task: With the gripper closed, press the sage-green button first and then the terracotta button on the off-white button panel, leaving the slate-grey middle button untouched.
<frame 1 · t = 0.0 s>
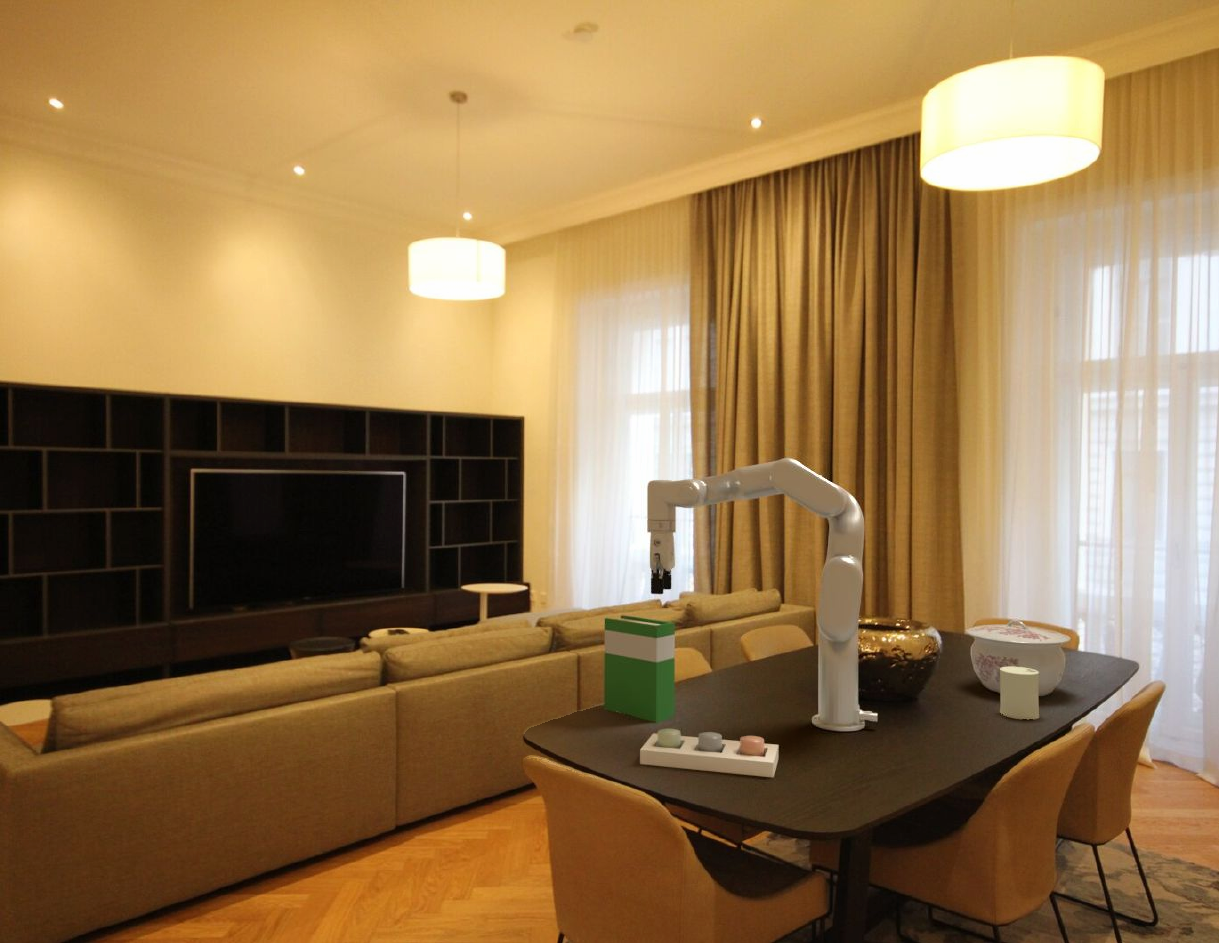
hand: (661, 591, 218), 31 cm above the table, tool pointing down, fingers open, 9 cm apart
can: (1019, 715, 214), on the table
button panel: (710, 761, 178), on the table
chamber pot: (1017, 692, 238), on the table
sage button: (669, 741, 180), point 4 cm above the table, slide at 0.0 cm
grey button: (710, 744, 178), point 4 cm above the table, slide at 0.0 cm
terracotta button: (752, 748, 175), point 3 cm above the table, slide at 0.0 cm
hardback book: (638, 713, 215), on the table
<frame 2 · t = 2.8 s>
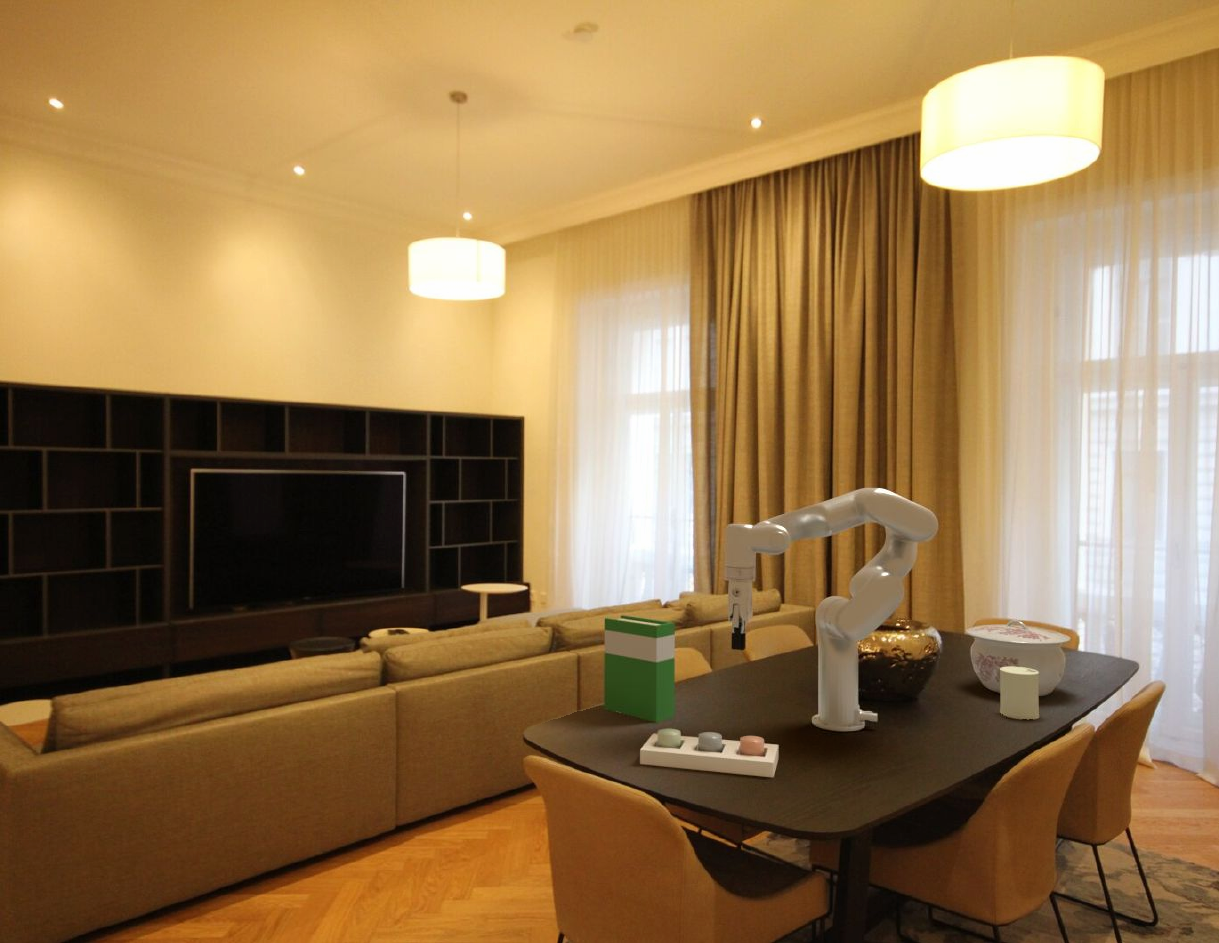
hand: (738, 649, 202), 19 cm above the table, tool pointing down, fingers closed
nothing on the table moved.
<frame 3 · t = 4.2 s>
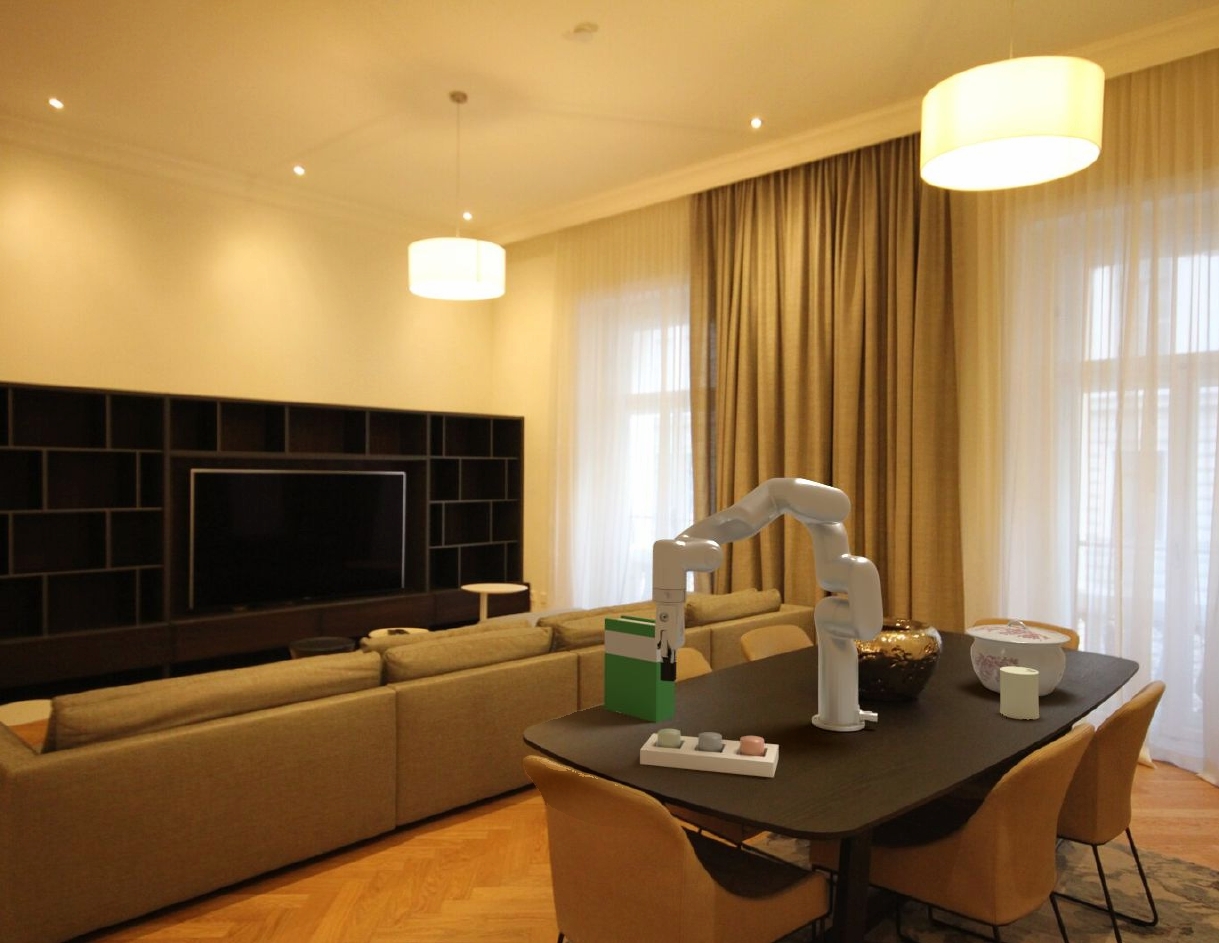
hand: (668, 680, 180), 17 cm above the table, tool pointing down, fingers closed
nothing on the table moved.
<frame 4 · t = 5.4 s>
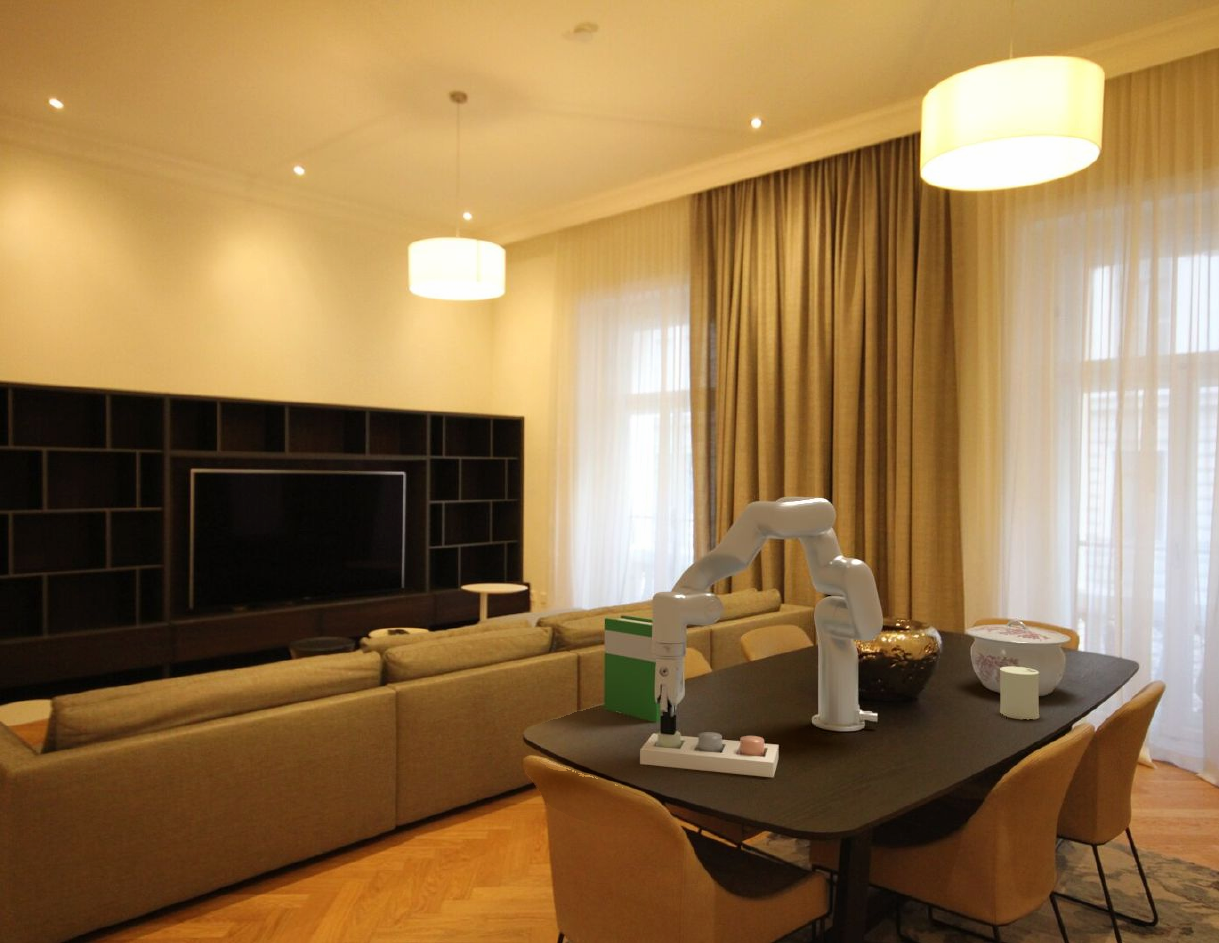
hand: (668, 733, 180), 5 cm above the table, tool pointing down, fingers closed
sage button: (669, 742, 180), point 3 cm above the table, slide at 0.3 cm, touching gripper
everything else where it was.
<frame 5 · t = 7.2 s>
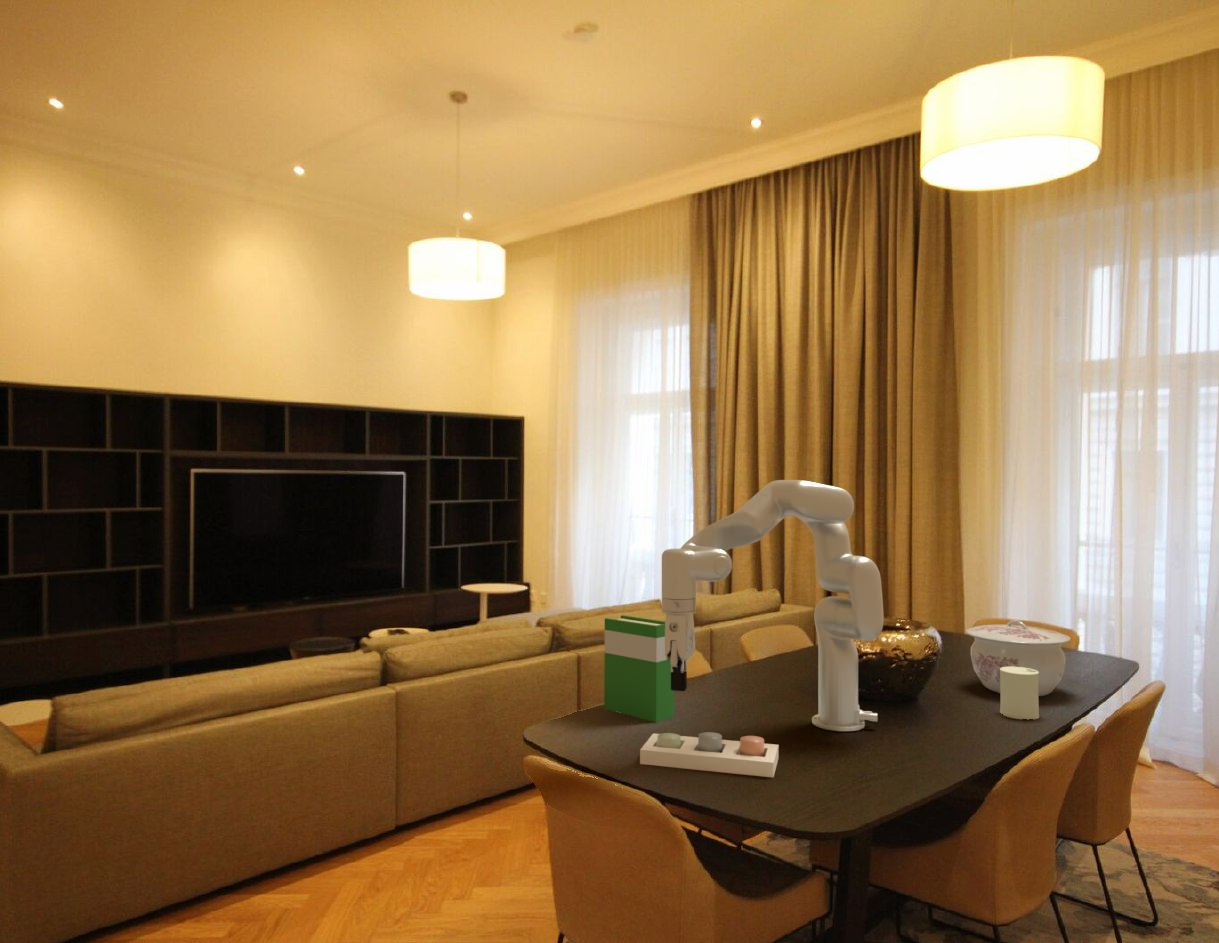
hand: (678, 689, 180), 15 cm above the table, tool pointing down, fingers closed
sage button: (669, 745, 180), point 3 cm above the table, slide at 1.0 cm
everything else where it was.
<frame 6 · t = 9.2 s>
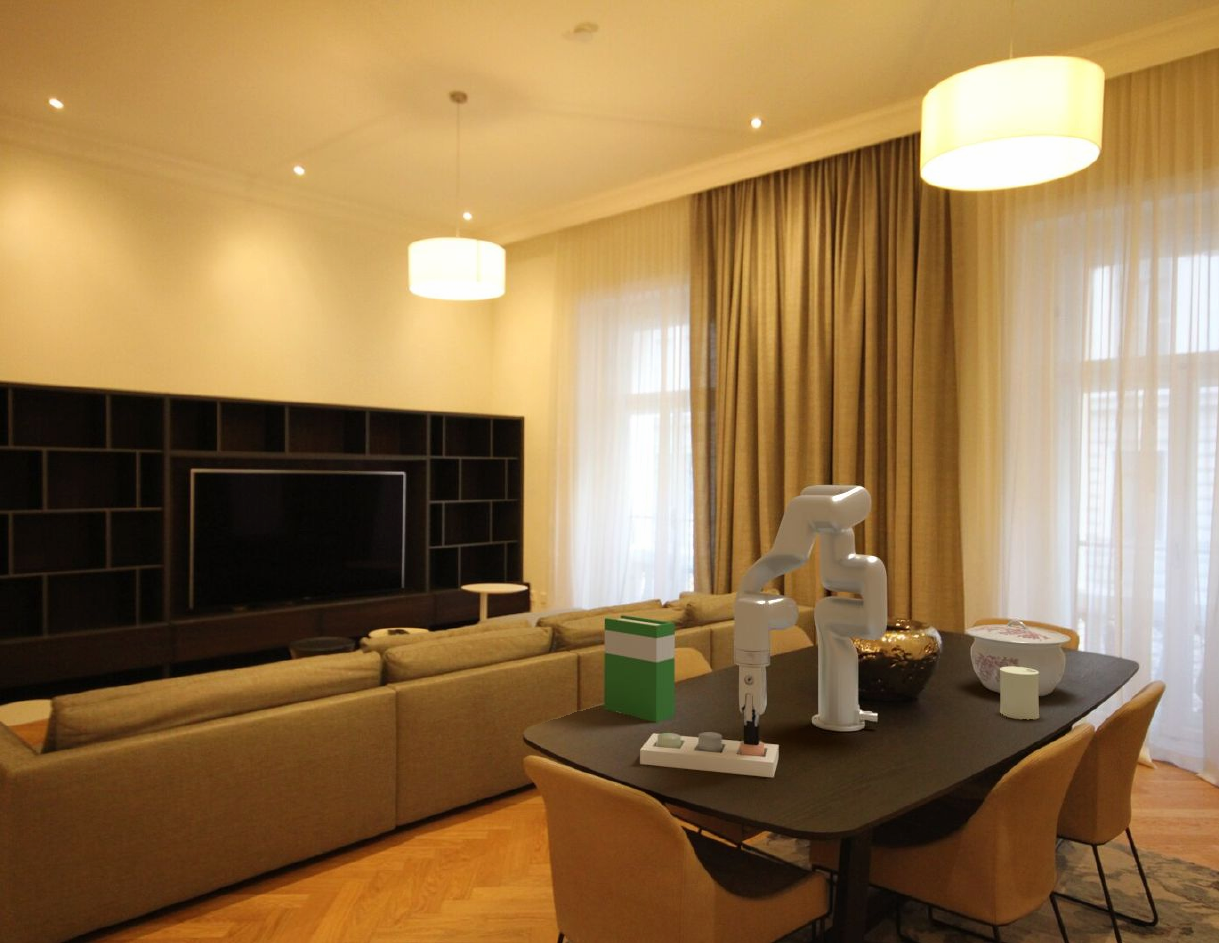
hand: (751, 743, 175), 5 cm above the table, tool pointing down, fingers closed
terracotta button: (752, 752, 175), point 3 cm above the table, slide at 0.8 cm, touching gripper
everything else where it was.
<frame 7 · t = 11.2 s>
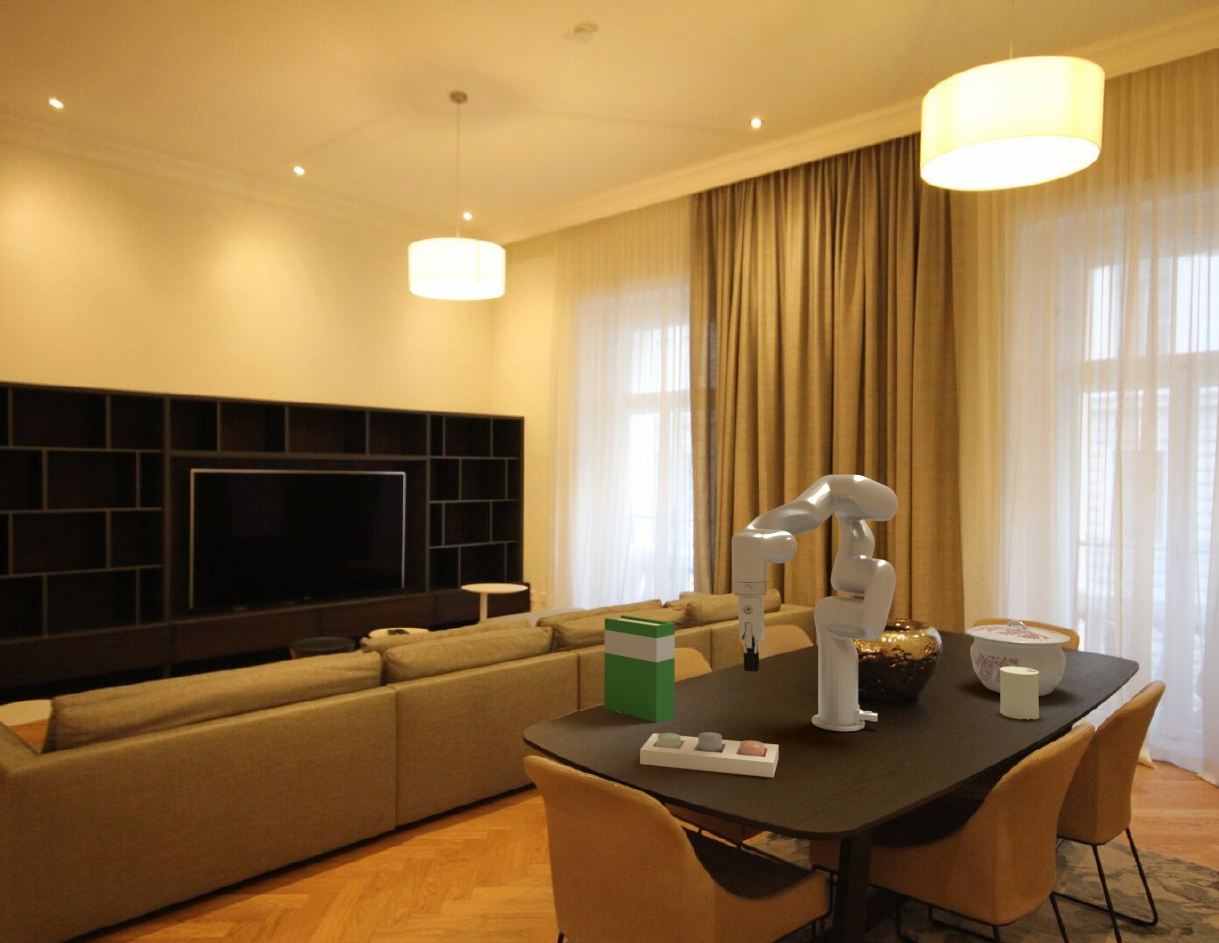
hand: (751, 670, 184), 18 cm above the table, tool pointing down, fingers closed
terracotta button: (752, 753, 175), point 2 cm above the table, slide at 1.0 cm
everything else where it was.
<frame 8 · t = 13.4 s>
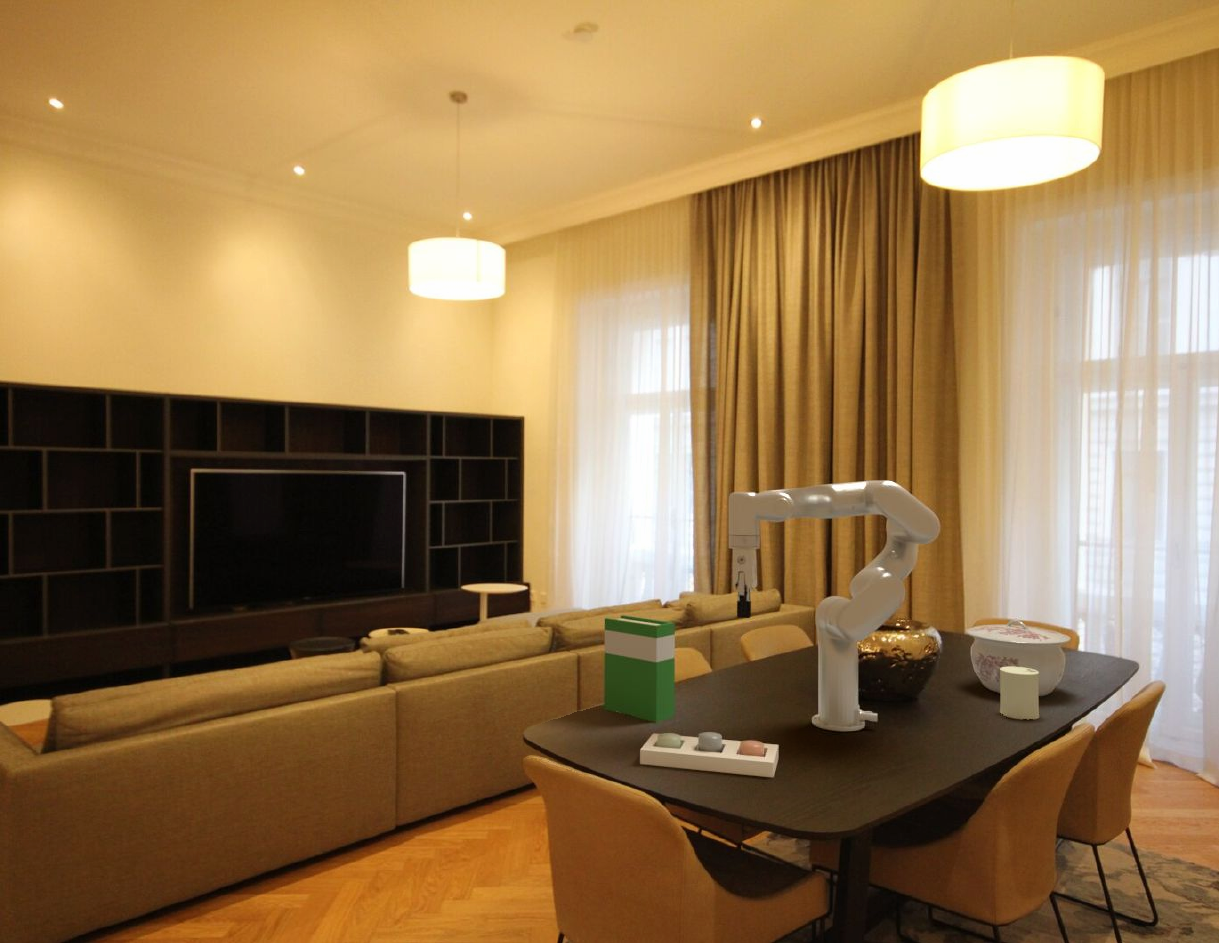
hand: (744, 617, 202), 27 cm above the table, tool pointing down, fingers closed
nothing on the table moved.
at the end: sage button slide at 1.0 cm; terracotta button slide at 1.0 cm; grey button slide at 0.0 cm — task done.
